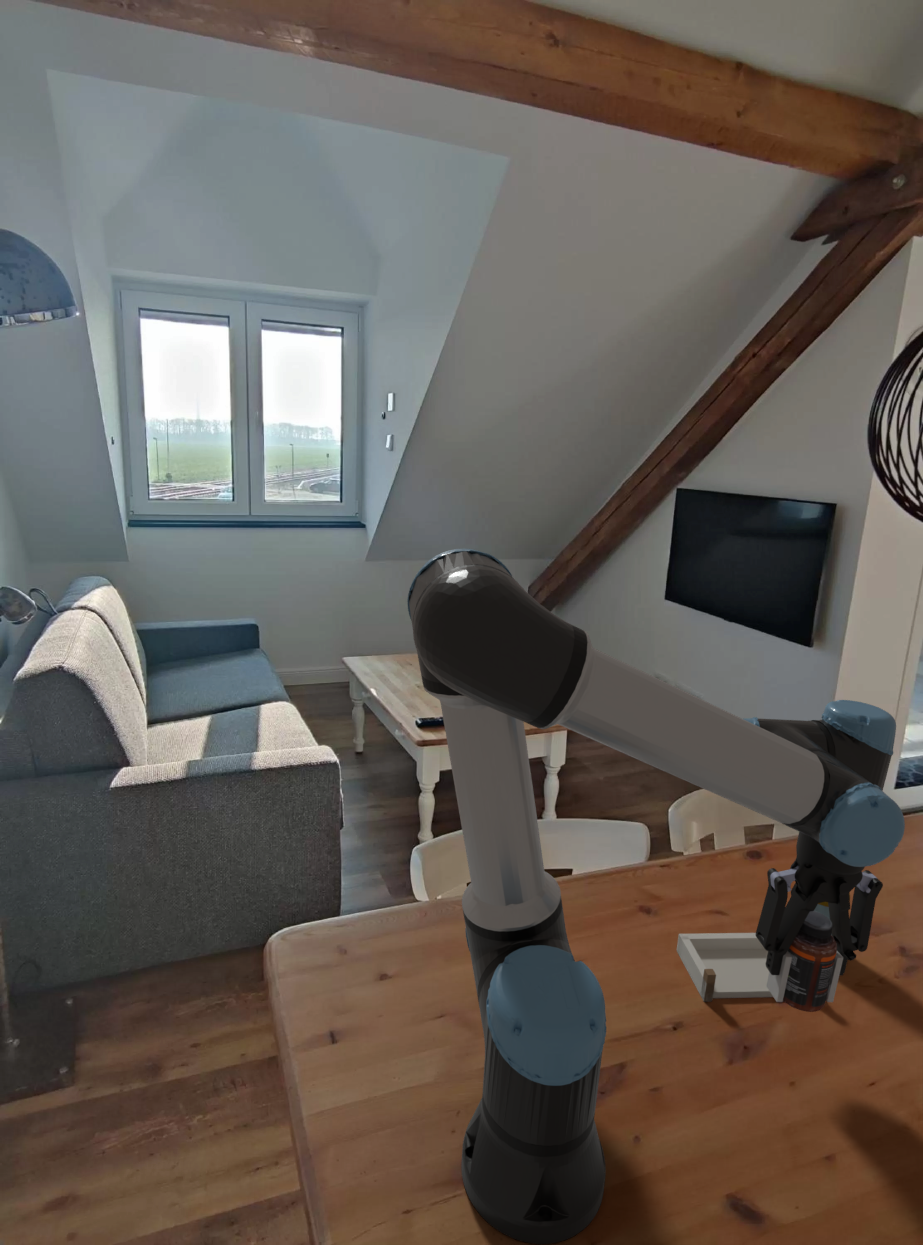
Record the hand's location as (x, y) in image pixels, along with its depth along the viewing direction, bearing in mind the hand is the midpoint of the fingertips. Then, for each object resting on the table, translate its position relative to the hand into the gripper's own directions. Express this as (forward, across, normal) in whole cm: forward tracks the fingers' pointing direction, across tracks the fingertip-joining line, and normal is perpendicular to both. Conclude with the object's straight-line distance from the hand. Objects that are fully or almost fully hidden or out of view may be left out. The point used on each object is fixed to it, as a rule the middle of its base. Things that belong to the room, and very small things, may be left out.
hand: (799, 993), depth 93 cm
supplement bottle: (+1, 0, 0) cm, 1 cm away
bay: (+9, -1, -14) cm, 17 cm away
